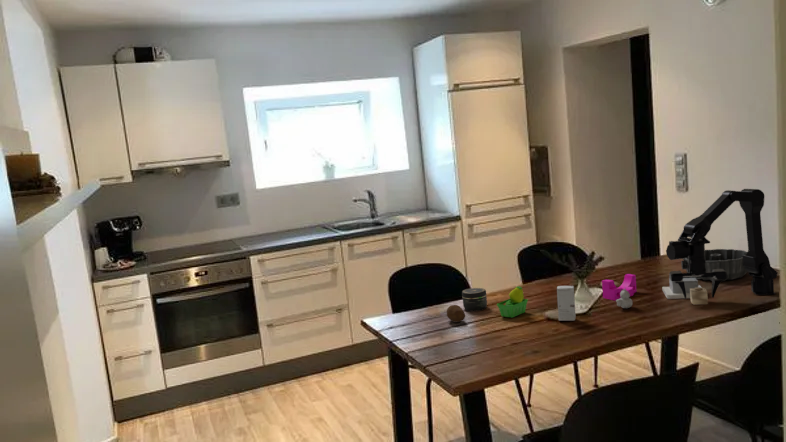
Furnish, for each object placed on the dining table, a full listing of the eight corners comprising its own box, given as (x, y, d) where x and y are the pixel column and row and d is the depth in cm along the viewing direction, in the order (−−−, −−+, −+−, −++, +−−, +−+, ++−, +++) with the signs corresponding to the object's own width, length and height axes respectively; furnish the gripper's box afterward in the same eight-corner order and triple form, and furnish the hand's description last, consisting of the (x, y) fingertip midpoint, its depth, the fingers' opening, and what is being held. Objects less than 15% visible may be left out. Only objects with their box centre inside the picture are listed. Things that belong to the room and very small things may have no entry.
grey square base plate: (700, 288, 250) (699, 274, 250) (707, 297, 237) (706, 281, 236) (662, 290, 254) (661, 275, 254) (667, 298, 241) (666, 283, 240)
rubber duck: (636, 308, 233) (635, 287, 233) (621, 311, 232) (620, 290, 231) (627, 305, 239) (625, 284, 238) (612, 308, 237) (611, 287, 236)
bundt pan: (677, 283, 264) (675, 260, 262) (688, 270, 285) (687, 248, 284) (748, 285, 248) (747, 260, 247) (755, 271, 270) (754, 248, 269)
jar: (492, 306, 259) (490, 288, 258) (478, 312, 252) (476, 294, 251) (472, 304, 266) (471, 286, 265) (458, 310, 258) (456, 292, 258)
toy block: (615, 301, 247) (613, 282, 246) (603, 298, 253) (601, 280, 252) (641, 293, 254) (640, 275, 253) (629, 291, 259) (628, 273, 259)
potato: (454, 325, 237) (452, 309, 237) (442, 320, 246) (441, 304, 246) (469, 321, 240) (468, 306, 239) (457, 316, 249) (455, 301, 248)
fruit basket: (513, 309, 250) (511, 282, 249) (532, 311, 244) (530, 283, 243) (496, 316, 242) (494, 288, 241) (515, 319, 236) (513, 290, 235)
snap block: (705, 300, 233) (704, 286, 233) (708, 304, 228) (707, 289, 228) (690, 301, 235) (689, 286, 234) (693, 304, 230) (692, 290, 229)
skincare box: (558, 321, 228) (555, 288, 226) (559, 317, 232) (556, 285, 231) (576, 320, 226) (573, 287, 225) (576, 317, 230) (573, 285, 229)
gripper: (719, 251, 235) (721, 291, 236) (666, 254, 240) (668, 293, 242) (726, 256, 224) (728, 299, 226) (670, 259, 230) (673, 300, 231)
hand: (699, 297), depth 231 cm, fingers open, 9 cm apart
